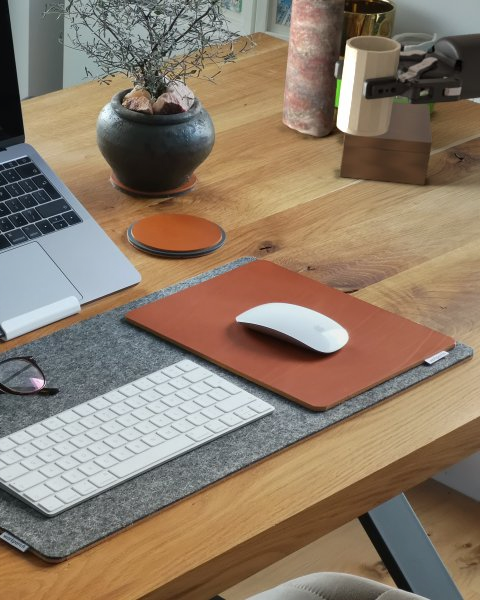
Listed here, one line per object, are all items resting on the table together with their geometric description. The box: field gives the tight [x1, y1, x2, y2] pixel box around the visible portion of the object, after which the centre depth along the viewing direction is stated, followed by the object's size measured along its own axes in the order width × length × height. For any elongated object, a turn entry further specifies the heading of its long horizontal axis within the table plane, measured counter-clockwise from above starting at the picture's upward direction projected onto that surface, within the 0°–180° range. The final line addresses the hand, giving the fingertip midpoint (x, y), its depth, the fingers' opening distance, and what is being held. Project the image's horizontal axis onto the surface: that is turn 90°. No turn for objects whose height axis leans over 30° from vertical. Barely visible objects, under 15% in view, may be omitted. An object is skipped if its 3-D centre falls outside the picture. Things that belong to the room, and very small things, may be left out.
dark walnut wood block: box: [338, 102, 433, 186], centre depth 152 cm, size 11×14×6 cm
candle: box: [282, 0, 346, 138], centre depth 158 cm, size 8×7×20 cm
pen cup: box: [336, 35, 402, 136], centre depth 129 cm, size 6×6×10 cm
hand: (350, 79), depth 127 cm, fingers closed on pen cup, 6 cm apart
